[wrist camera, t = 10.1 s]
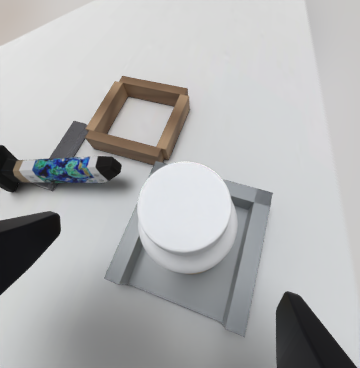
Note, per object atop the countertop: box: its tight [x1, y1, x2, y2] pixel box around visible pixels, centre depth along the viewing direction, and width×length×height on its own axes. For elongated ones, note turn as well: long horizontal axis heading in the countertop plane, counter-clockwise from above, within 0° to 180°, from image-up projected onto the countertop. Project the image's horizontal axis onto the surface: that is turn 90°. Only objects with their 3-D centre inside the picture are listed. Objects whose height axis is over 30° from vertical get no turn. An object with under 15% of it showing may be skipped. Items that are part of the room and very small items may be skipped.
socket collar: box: [85, 76, 190, 165], centre depth 23 cm, size 9×9×2 cm
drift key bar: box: [33, 121, 88, 191], centre depth 23 cm, size 8×2×1 cm, turn 161°
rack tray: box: [104, 161, 273, 337], centre depth 17 cm, size 10×10×3 cm
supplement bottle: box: [137, 161, 238, 274], centre depth 13 cm, size 5×5×10 cm
